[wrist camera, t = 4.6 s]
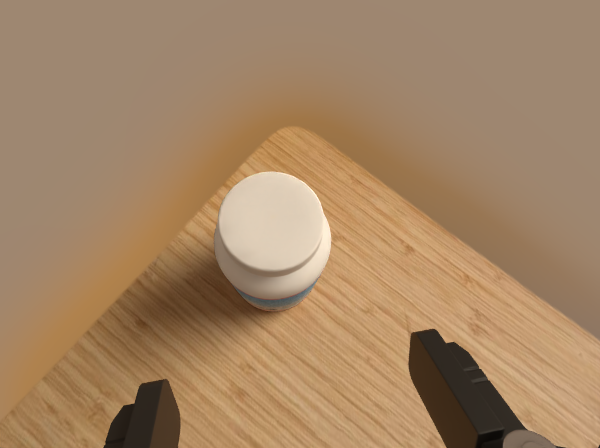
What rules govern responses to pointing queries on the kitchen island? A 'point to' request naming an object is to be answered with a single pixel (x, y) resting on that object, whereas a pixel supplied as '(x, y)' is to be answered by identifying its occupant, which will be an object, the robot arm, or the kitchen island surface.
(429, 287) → the kitchen island surface
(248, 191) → the pill bottle
